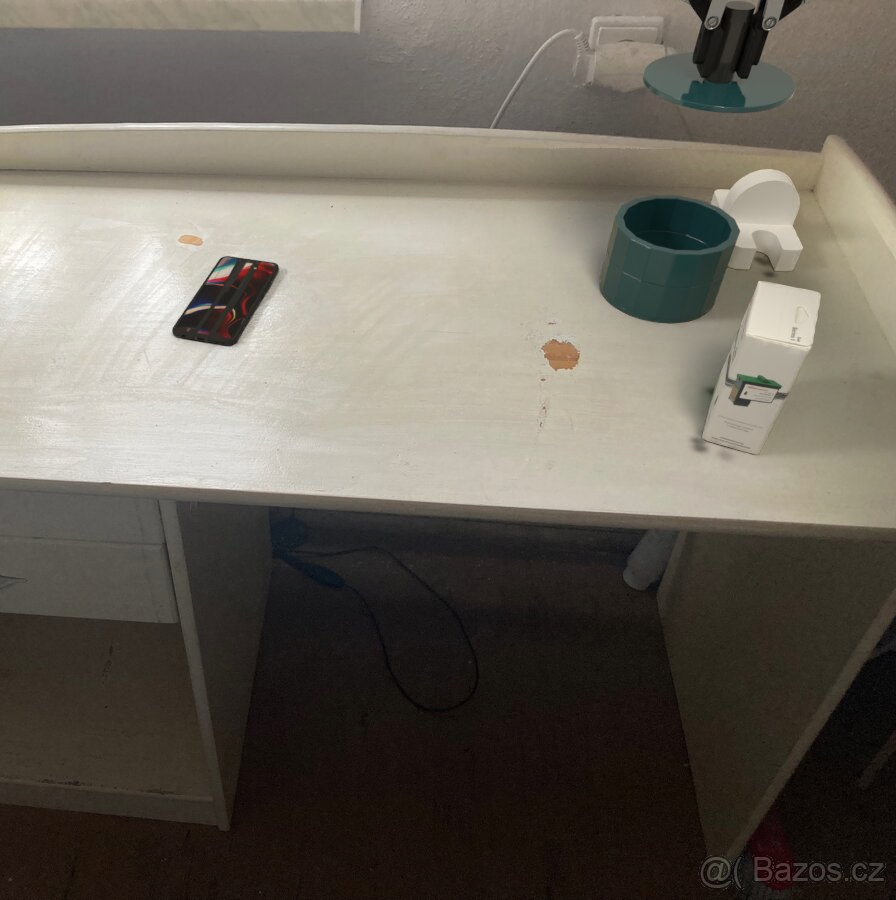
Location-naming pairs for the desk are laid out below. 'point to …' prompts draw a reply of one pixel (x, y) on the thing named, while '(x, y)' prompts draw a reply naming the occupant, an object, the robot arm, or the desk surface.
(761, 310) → the ink box
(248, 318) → the smartphone
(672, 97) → the lid
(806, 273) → the desk surface
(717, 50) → the robot arm
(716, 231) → the pot
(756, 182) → the slotted bracket
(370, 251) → the desk surface
